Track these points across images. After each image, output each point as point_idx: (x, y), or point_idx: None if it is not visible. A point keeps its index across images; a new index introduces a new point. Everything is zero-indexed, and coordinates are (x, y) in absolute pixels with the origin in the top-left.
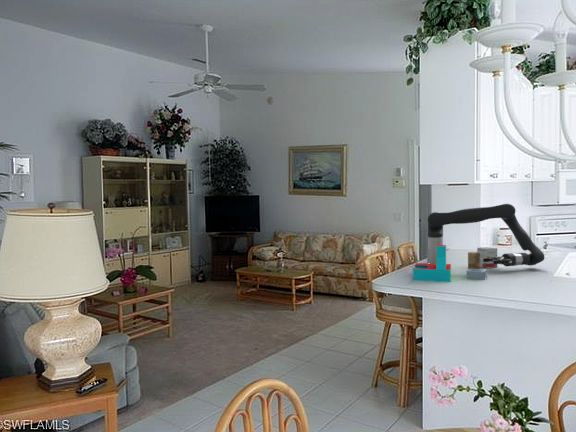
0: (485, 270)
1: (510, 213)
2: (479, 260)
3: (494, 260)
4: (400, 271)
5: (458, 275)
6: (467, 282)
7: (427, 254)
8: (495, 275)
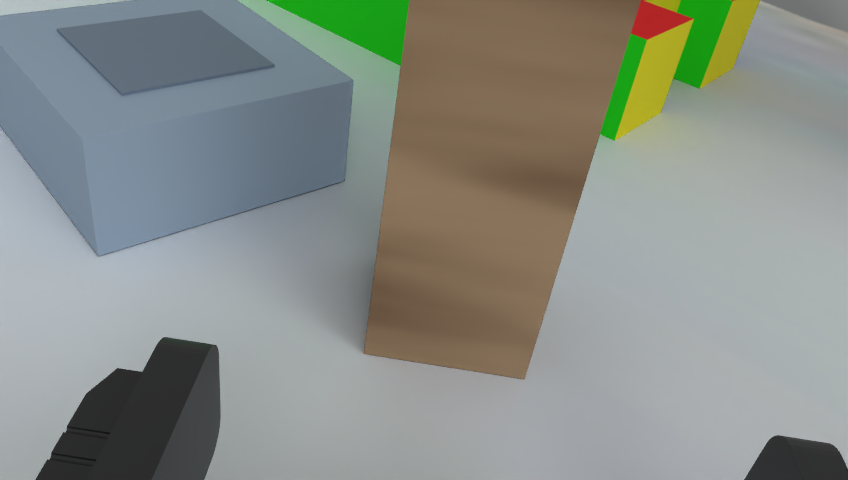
0: (50, 90)
1: None
2: (398, 93)
3: (169, 341)
4: (803, 30)
5: None
6: (84, 3)
7: None
8: (35, 461)
